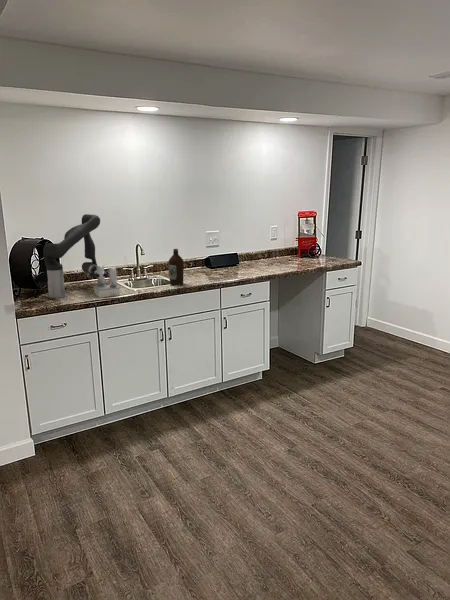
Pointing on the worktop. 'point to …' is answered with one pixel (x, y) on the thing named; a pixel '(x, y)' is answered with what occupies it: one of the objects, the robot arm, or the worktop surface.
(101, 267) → the spacer
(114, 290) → the scale
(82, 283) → the worktop surface
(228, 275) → the worktop surface
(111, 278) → the spacer on scale
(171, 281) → the olive oil
